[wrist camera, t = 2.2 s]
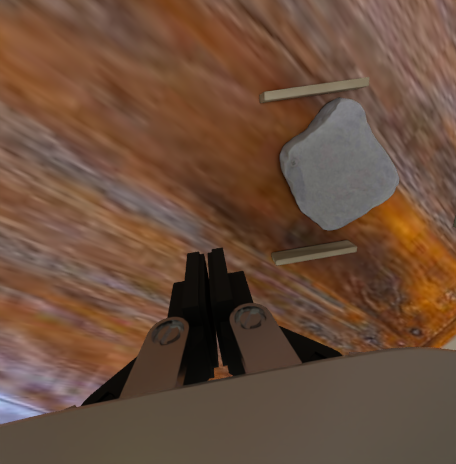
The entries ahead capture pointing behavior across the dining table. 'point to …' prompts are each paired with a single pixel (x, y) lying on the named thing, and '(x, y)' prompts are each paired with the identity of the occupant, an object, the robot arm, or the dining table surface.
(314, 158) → the stone block
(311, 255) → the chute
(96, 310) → the dining table surface
